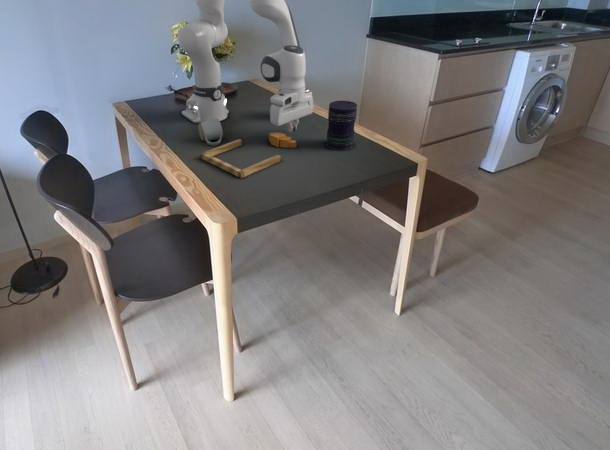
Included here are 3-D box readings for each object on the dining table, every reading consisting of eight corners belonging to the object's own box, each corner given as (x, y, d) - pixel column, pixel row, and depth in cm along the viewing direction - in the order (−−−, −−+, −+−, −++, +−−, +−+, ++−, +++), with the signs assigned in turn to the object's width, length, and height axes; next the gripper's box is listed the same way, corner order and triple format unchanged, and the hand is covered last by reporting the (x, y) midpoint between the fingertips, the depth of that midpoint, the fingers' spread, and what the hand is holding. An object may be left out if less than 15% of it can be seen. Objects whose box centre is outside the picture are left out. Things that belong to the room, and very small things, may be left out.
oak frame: (201, 158, 147) (200, 153, 146) (239, 144, 157) (239, 138, 156) (241, 178, 133) (240, 172, 132) (280, 161, 143) (280, 155, 142)
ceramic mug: (198, 137, 163) (196, 119, 159) (218, 134, 165) (216, 115, 161) (205, 148, 155) (203, 128, 151) (226, 144, 157) (225, 125, 153)
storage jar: (336, 152, 148) (340, 111, 139) (320, 143, 155) (323, 103, 147) (359, 146, 151) (363, 106, 143) (342, 137, 158) (345, 98, 150)
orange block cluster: (261, 140, 159) (261, 132, 157) (272, 136, 162) (272, 127, 160) (287, 151, 150) (287, 141, 148) (298, 146, 153) (299, 137, 151)
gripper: (305, 86, 158) (304, 121, 165) (266, 99, 146) (267, 136, 154) (318, 89, 154) (316, 125, 161) (279, 102, 143) (279, 140, 150)
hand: (292, 130), depth 158 cm, fingers closed
